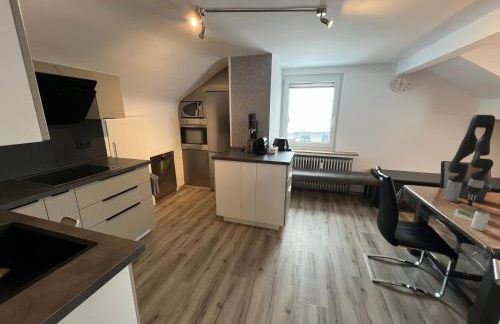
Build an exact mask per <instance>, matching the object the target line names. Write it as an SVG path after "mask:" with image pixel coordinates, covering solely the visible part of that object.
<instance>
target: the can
mask: <svg viewBox="0 0 500 324" xmlns="http://www.w3.org/2000/svg"><path fill="white" fill-rule="evenodd" d="M489 219H490V213H489V212H488V211H485V210H482V209H477V211H476V212H475V214H474V217H473V220H472V221H471V224H470V227H471V228H472V229H473V230H476V231H479V232H484V231H485V232H486V228H487V226H488V222H489Z"/></svg>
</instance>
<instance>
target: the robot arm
mask: <svg viewBox="0 0 500 324" xmlns="http://www.w3.org/2000/svg"><path fill="white" fill-rule="evenodd" d="M495 123H496V116H495V115H494V114H475V115H473V116H472V117H471V119H470V121H469V123H468V124H469V125H468V126H467V130H466V133H465V135H464V136H463V139H462V140H461V142H460V144H459V147H458V149H457V150H456V154H455V155H454V157H453V158H452V160H451V162H450V163H449V165H448V168H447V169H448V172H449V173H452V174H455V175H450V176H448V180H447V181H446V182H447V183H446V186H445V191H444V194H443V199H444V200H446V201H447V202H448V201H449V202H455V203H456V202H459V198H460V197H459V195H460V192H461V188H462V185H463V181H464V180H466V176H467V173H468V171H469V164H468V163H466V162H461V161H462V160H464V159H465V158H467V157H469V156H470V155H472V154H473V153H474V154H473V156H472V159H471V161H470V165H471V167H472V168H475V169H479V170H473V171H472V172H471V174H470V178H469V182H468V186H467V189H466V190H467V191H469V192H471V193H469V195H468V199H467V204H466V205H468V206H472V205H473V203H474V201H476V200H475V198H476V196H477V194H475V193H481V192H482V189H483V185H484V183H485V179H486V176H487V174H488V173H489V171H490V170H491V169H492V168H493V167H494V161H493V160H492V159H490V158H481V157H485V156H489V155H490V153H491V139H492V137H493V133H494V127H495ZM478 128H481V129H482V128H483V129H484V128H485V129H484V130H485V131H484V133H483V134H482V135H481V137H479V138H477V136H476V130H477V129H478ZM472 207H473V206H472Z"/></svg>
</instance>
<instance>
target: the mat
mask: <svg viewBox="0 0 500 324" xmlns="http://www.w3.org/2000/svg"><path fill="white" fill-rule="evenodd" d="M458 210H459V208H456V209H455V211H454V213H453V215H452V216H453V217H458V218H460V219H465V220H469V221H471V222H472V220H473V217H472V216H468V215H464V214H461V213H458Z"/></svg>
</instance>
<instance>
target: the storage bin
mask: <svg viewBox="0 0 500 324" xmlns="http://www.w3.org/2000/svg"><path fill="white" fill-rule="evenodd" d="M469 180H470V179H469ZM469 180H468V179H464V181H463V185H462V188H461V192H460V195H459V198H463V199H467V200H468V195H469V193H471V192H469V191H467V190H466V189H467V186H468V182H469ZM492 188H493V185H492V184H489V183H486V182H484V185H483V189H482V192H481V193H475V194H477V196H476V198H475V200H474V201H475V202H476V201H477V202H479V203H481V202H482V203H483V202H484V200H485V199H486V196H487V194H488V191H490V190H491V189H492Z"/></svg>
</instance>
